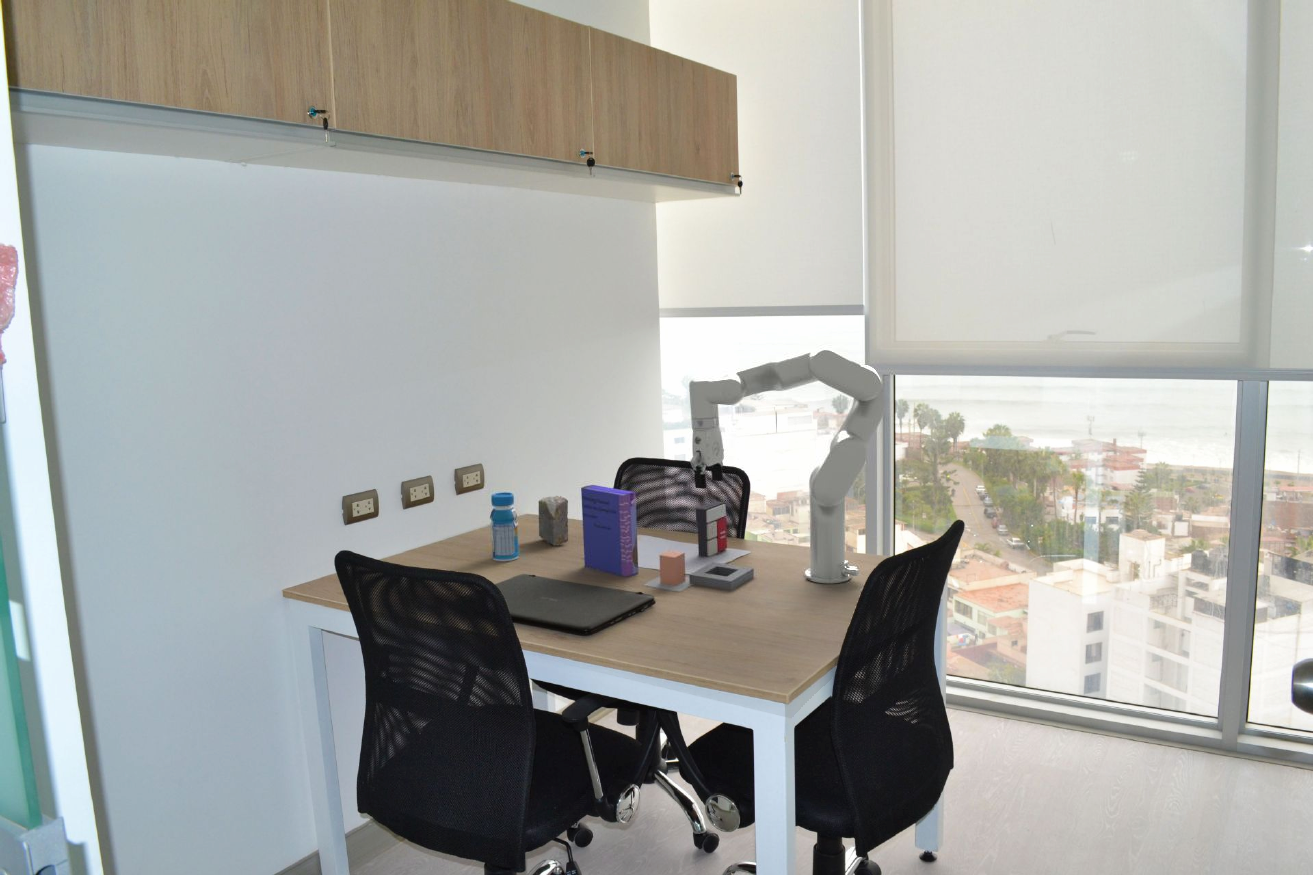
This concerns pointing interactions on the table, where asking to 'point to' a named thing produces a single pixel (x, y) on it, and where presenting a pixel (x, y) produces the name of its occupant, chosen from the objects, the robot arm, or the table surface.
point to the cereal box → (610, 530)
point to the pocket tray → (721, 576)
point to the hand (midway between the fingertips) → (709, 484)
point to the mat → (656, 584)
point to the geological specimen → (553, 520)
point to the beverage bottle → (504, 527)
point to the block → (672, 568)
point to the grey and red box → (711, 528)
